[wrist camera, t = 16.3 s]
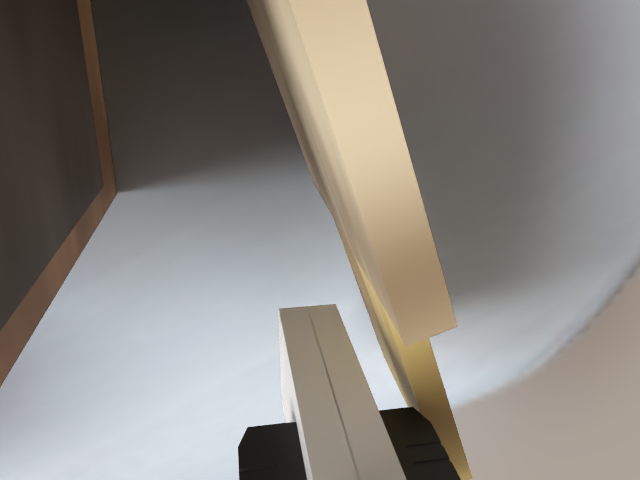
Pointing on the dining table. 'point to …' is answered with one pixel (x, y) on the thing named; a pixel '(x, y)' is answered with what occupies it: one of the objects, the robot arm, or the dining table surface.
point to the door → (366, 185)
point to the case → (47, 157)
